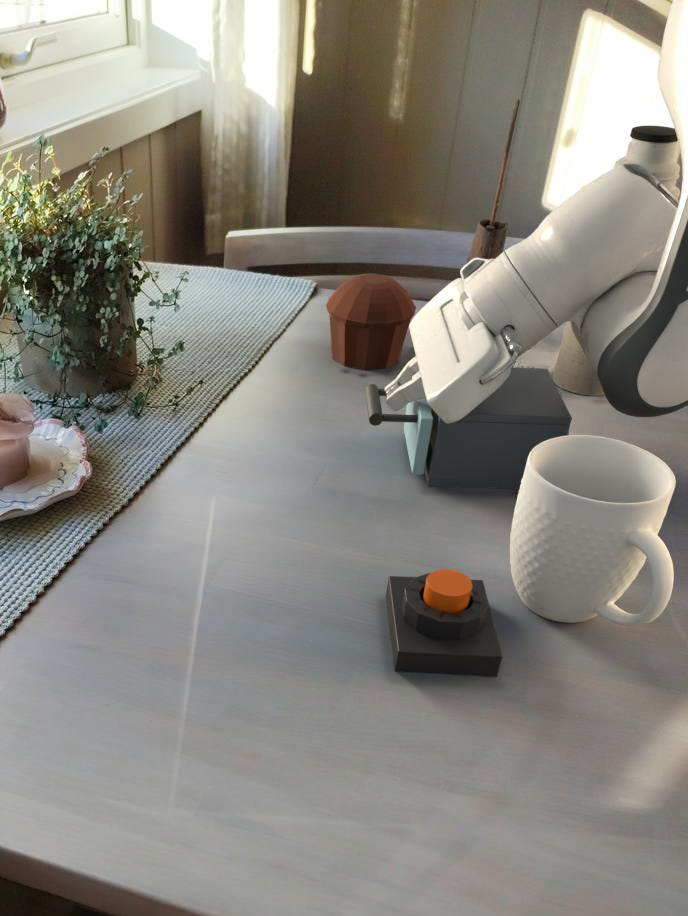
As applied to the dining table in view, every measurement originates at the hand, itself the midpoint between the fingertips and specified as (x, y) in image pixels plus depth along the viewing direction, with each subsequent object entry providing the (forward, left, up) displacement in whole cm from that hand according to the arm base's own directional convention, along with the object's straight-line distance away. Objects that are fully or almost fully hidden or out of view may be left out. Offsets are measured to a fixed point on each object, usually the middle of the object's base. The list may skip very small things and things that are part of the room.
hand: (388, 401), depth 93 cm
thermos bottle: (-27, -21, -7) cm, 35 cm away
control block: (-3, +30, -6) cm, 31 cm away
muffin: (0, -27, -7) cm, 28 cm away
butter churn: (-14, -34, -7) cm, 37 cm away
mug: (-14, +25, -7) cm, 30 cm away
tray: (-6, 0, -6) cm, 8 cm away
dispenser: (-11, 0, -6) cm, 13 cm away
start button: (-3, +30, -3) cm, 30 cm away
